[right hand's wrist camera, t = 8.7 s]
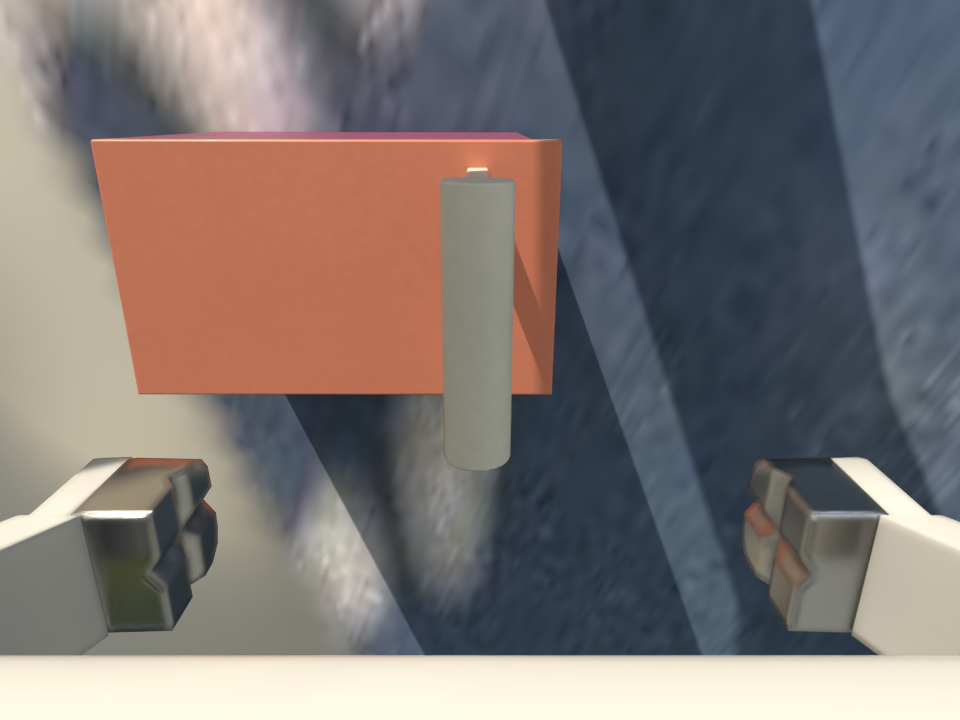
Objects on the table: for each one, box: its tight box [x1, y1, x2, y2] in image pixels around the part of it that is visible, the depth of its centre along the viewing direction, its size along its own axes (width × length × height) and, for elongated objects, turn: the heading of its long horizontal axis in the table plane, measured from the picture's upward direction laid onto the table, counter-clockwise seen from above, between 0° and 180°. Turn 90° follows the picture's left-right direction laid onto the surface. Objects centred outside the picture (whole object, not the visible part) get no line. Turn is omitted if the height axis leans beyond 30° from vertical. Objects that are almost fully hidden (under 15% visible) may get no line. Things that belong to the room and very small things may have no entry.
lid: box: [91, 139, 562, 471], centre depth 21 cm, size 16×9×8 cm, turn 90°
